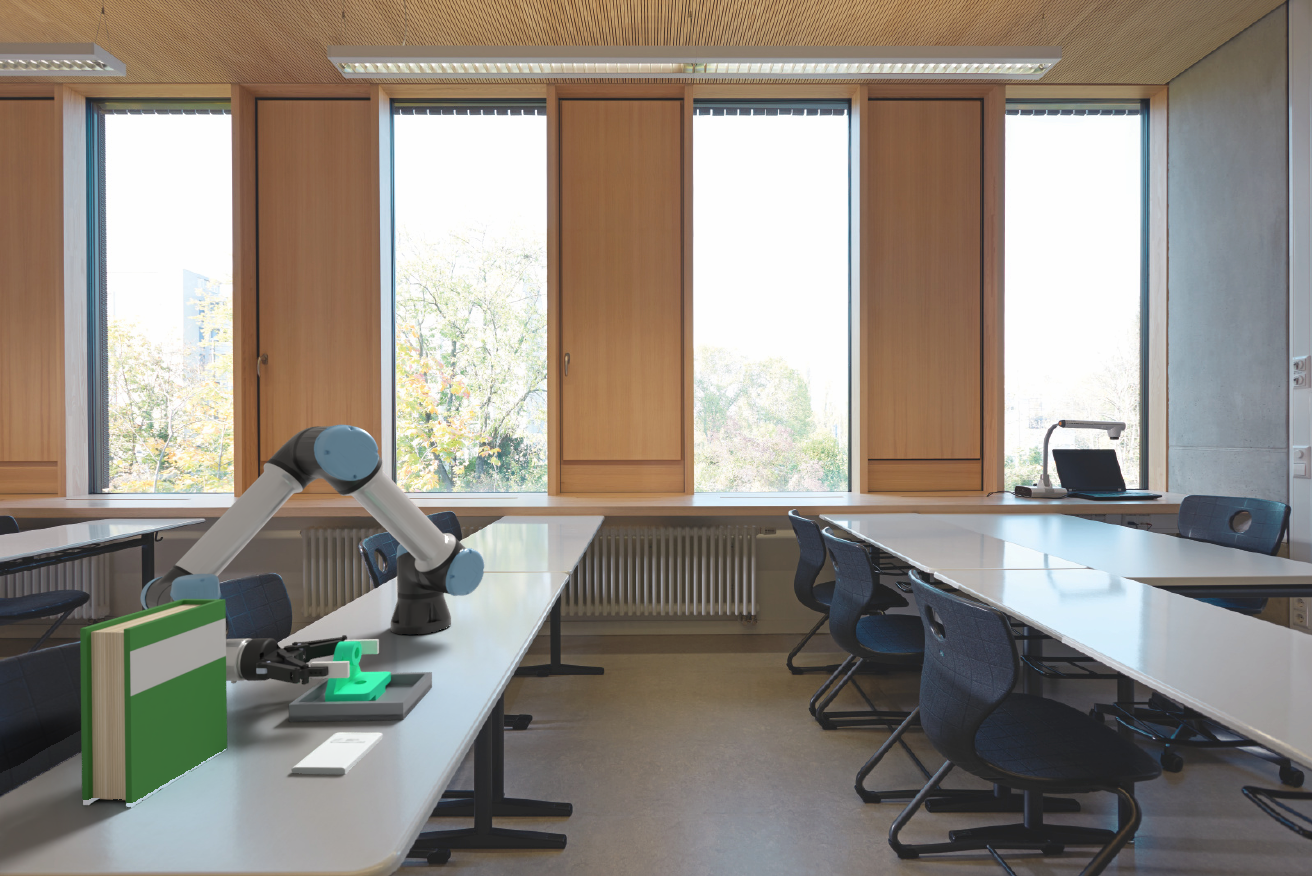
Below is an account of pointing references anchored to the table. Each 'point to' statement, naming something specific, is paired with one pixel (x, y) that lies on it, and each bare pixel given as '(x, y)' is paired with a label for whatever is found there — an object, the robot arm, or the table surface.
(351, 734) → the external hard drive
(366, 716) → the tray
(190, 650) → the hardback book
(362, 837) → the table surface
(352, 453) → the robot arm
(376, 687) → the green mounting bracket
